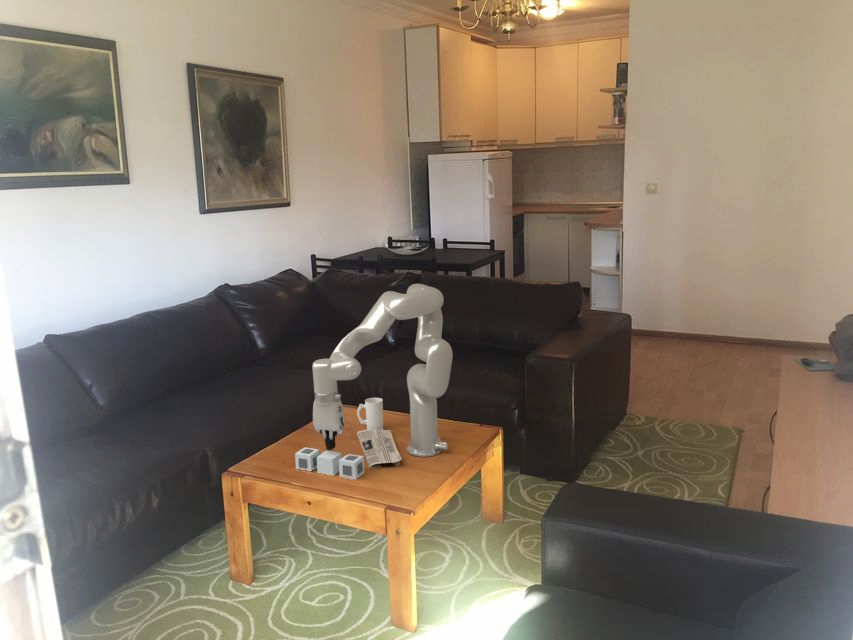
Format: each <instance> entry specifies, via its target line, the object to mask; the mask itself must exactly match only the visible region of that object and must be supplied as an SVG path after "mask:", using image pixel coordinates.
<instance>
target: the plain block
mask: <svg viewBox="0 0 853 640" xmlns="http://www.w3.org/2000/svg"><path fill="white" fill-rule="evenodd" d="M341 458H343V456H342V452H339V451H338V452H337V451H333V450H324V451H323V452H321V453H320V455H319V456H317V469H316V471H317V474H318V473H322V474H321V475H323V474H327V475H326V476H329V475H332V476H331V477H334V476H335V475H337V474H338V473H339V460H340V459H341ZM336 473H337V474H336ZM333 475H334V476H333Z"/></svg>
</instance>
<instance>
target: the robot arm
mask: <svg viewBox="0 0 853 640" xmlns="http://www.w3.org/2000/svg"><path fill="white" fill-rule="evenodd" d="M443 305H444V295H443V293H442V292H441V291H440V289H438V288H436V287H433V286H429V285H426V284H422V283H413V284H411V285H410V286H408V288H407V290H406V293H400V292H397V291H391V290H388V291H385V292H383V294H381V295H380V297H379V298H378V300H377V301H376V302H375V303H374V305H372V308H371V309H370V310H369V312H368V313H367V315H366V316H365V318H364V319H363V320H362V322H361V323H360V324H359V325H357V327H355V328H354V329H352V330H351V331H350V332H349V333H348V334H347V335H346V336H345V337H343V338H342V339H341V340H340V342H339V343H338V344H337V346H336V347H335V349H334V350H333V352H331V355H330V357H329V358H320V359H317V360H314V362H312V365H311V366H312V369H311V370H312V377H313V378H312V379H313V391H314V401H313V405H312V425H313V427H314V431H315V432H318V433H319V434H321V435H322V437H323V439H324V441H325V442H324V443H325V451H333V450H334V449H335V448H336V445H337V444H336V437H337V436H338V435H342V434H344V433H345V430H344V429H345V428H344V427H346V416H345V412H344V407H343V403H342V401H341V397H342V394H340V393H339V390H338V381H351V380H355V379H357V377H359V375H360V374H361V372H362V365H361V363H360V362H359V361H358V359H356V358H355V356H356V355H357V354H358V353H359V351H360V350H362V349H363V348H365V347H366V346H368V345H370V344H373V343H377V342H379V341H381V340H382V339H383V337H384V336H385V335H386V333H387V331H389V329H390V327H391V326H392V325H393V324H394V322H395V320H398V321H405V320H410V319H416V318H417V319H418V320H417V330H416V336H415V338H416V339H415V342H414V343H415V344H414V353H415V356H416V358H418V359H419V360H421V361H423V362H424V363H426V364H424V363H416V364H415V365H413V366H411V367H410V369H409V370H408V372H407V375H406V383H407V385H406V386H407V389H408V395H409V414H410V415H409V417H410V418H409V419H410V443H409V445H407V447H406V451H407V454H410V455H411V456H415V457H423V458H424V457H432V456H436V455H438V454H441V452H442V451H443V450H444V451H447V450H449V445H448V442H445V441H442V440H441V437H439V436H438V434H439V433H438V402H437V399H439V398H441V397H442V396H444V394H445V393H446V392H447V389H448V388H449V387H448V386H449V382H450V377H451V372H452V371H451V370H452V365H453V358H454V357H453V349H452V347H451V345H450V343H449V342H448V341H446V340H445V339H443V338H442V333H443V323H444V322H443V321H444V320H443V319H444V318H443V313H442V309H441V308H442V307H443Z"/></svg>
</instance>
